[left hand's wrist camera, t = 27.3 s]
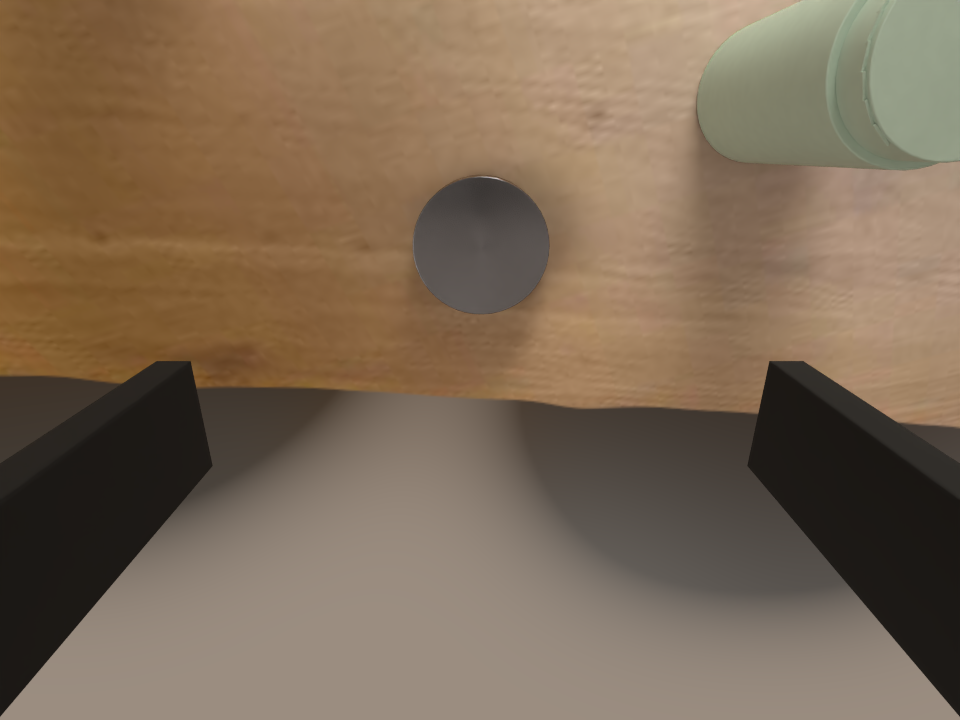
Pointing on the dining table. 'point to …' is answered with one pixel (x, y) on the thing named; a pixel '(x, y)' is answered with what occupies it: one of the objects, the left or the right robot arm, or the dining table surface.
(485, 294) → the lid
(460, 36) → the dining table surface
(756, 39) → the jar
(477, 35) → the dining table surface
